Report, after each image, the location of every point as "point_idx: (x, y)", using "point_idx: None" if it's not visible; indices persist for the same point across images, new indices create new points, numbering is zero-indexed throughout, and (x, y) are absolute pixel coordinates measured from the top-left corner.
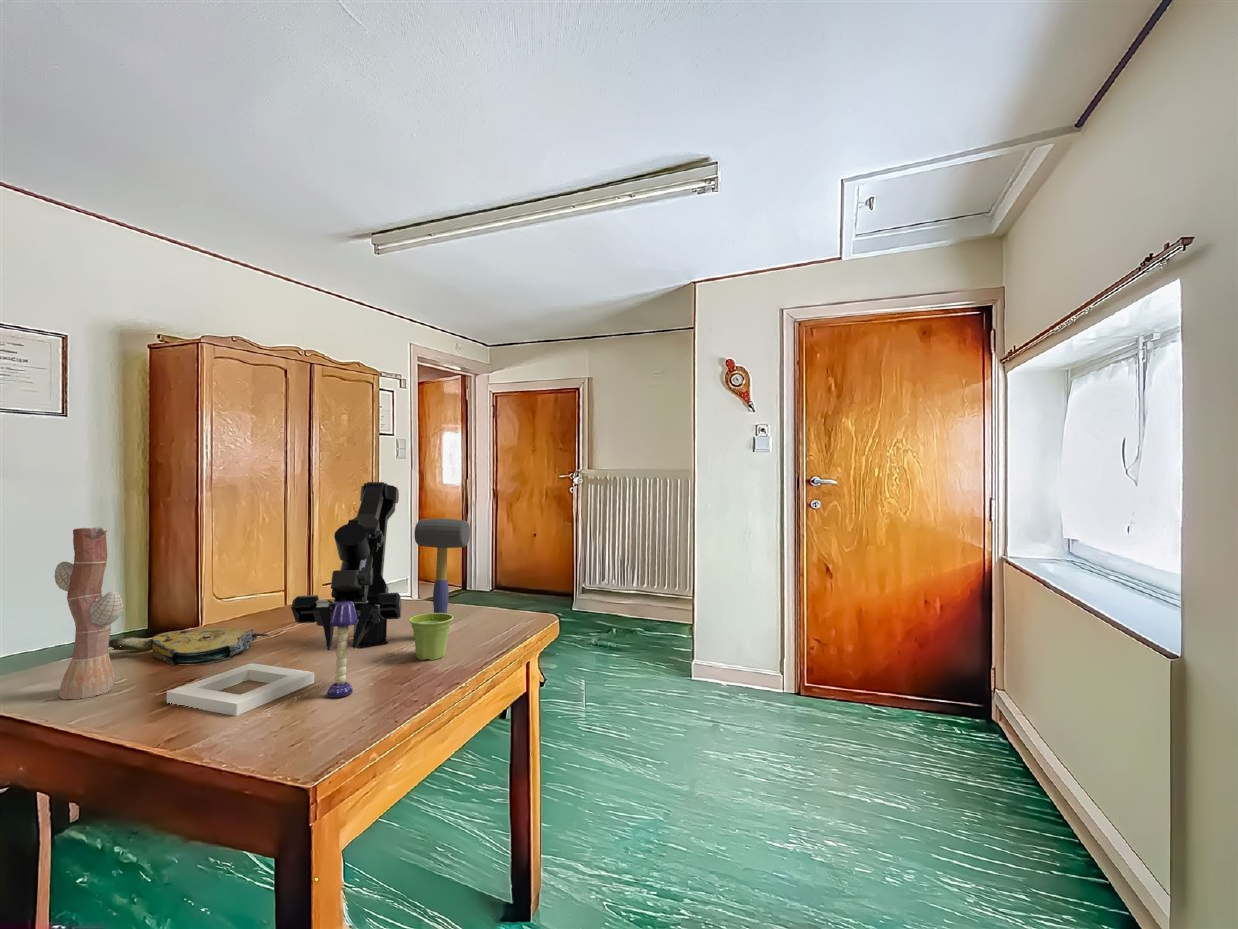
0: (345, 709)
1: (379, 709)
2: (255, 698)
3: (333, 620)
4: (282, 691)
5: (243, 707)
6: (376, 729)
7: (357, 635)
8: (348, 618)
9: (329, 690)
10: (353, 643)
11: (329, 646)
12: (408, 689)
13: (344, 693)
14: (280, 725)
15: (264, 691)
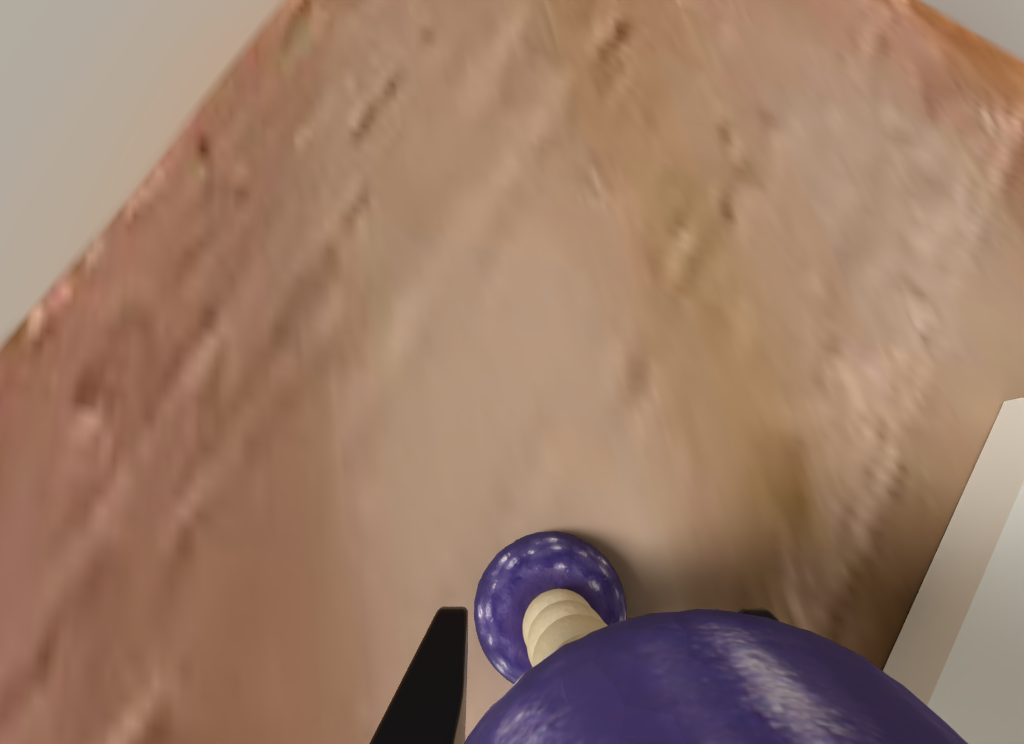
0: (474, 359)
1: (292, 315)
2: (1008, 494)
3: (961, 737)
4: (910, 662)
5: (1015, 428)
6: (294, 86)
7: (409, 728)
8: (588, 721)
9: (611, 577)
10: (459, 624)
11: (742, 612)
12: (119, 606)
13: (513, 546)
14: (742, 236)
15: (1005, 569)
